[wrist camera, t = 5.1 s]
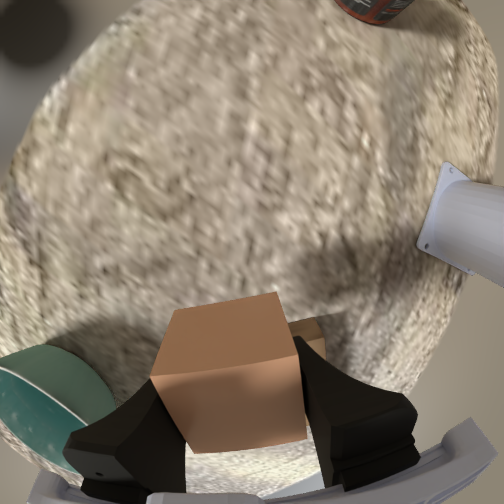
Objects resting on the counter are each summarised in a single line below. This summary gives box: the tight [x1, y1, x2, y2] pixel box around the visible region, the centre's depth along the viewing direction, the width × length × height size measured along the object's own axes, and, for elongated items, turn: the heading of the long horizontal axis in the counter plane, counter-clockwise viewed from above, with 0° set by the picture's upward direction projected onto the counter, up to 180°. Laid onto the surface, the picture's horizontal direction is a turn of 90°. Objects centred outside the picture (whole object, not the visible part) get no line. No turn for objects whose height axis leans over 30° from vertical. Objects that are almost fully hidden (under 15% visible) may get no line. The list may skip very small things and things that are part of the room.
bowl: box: [0, 344, 116, 476], centre depth 19 cm, size 16×16×8 cm
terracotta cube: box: [150, 292, 307, 454], centre depth 11 cm, size 5×5×5 cm
